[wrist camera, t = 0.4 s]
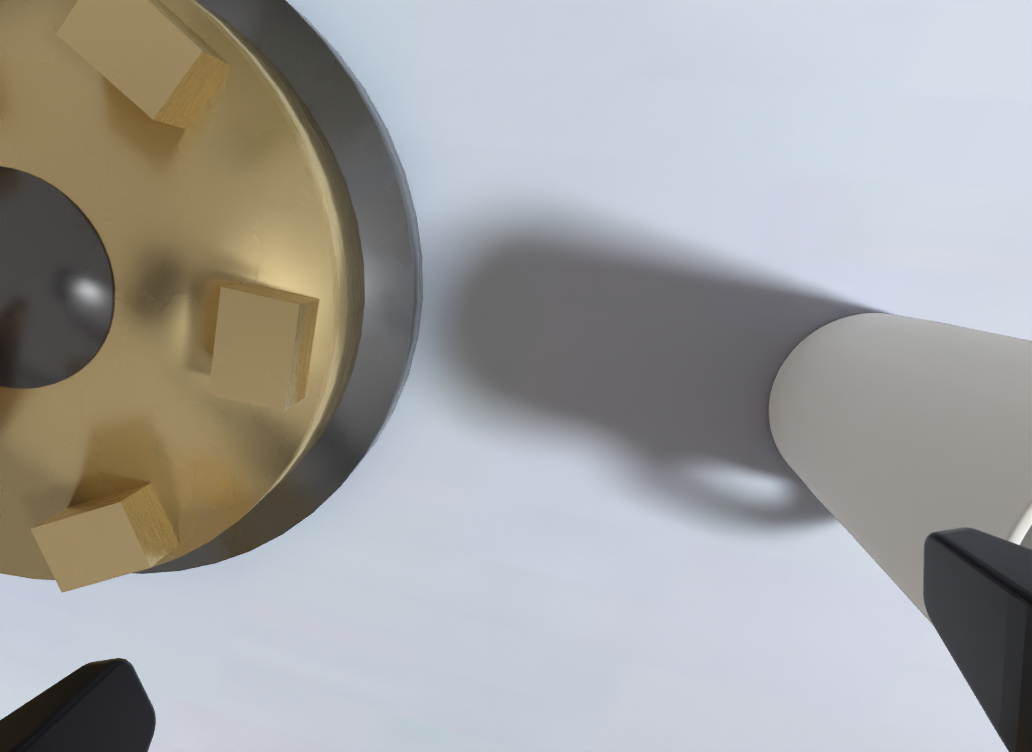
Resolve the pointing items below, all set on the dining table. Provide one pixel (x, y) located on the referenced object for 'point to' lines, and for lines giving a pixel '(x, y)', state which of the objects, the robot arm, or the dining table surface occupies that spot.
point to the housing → (387, 272)
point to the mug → (909, 433)
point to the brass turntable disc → (158, 283)
